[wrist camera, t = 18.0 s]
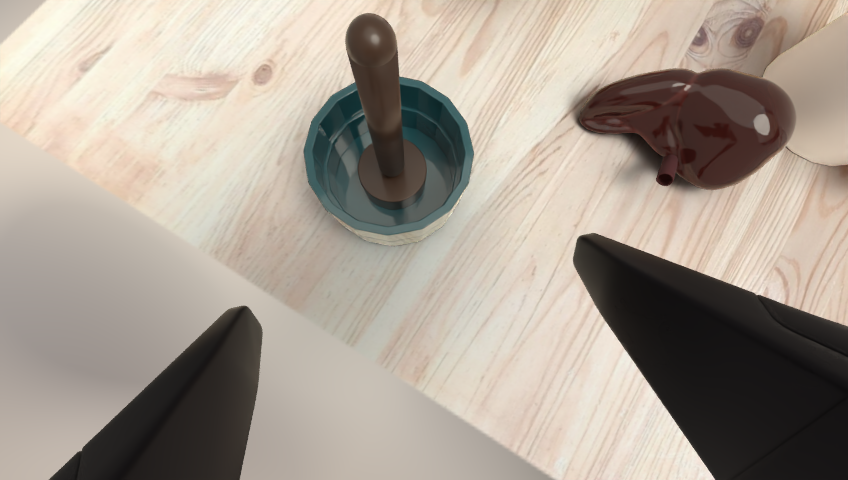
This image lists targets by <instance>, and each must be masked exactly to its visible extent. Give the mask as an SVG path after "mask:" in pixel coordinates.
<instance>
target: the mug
mask: <svg viewBox="0 0 848 480" xmlns="http://www.w3.org/2000/svg"><path fill="white" fill-rule="evenodd" d="M762 78H765V79H768V80H770V81H772V82H774V83H775V84H777V85H778V86H780V87H781V88H782V89H783V90H784V91H785V92H786V93H787V94H788V95H789V97H790V98H791V100H792V102H793V104H794V107H795V111H796V125H795V129H794V132H793V135H792V137H791V139H790V141H789V142H788V143H787V145H786V147H787V148H788V149H790V150H791V151H792V152H793V153H795V154H797V155H799V156H801V157H803V158H805V159H807V160H809V161H811V162H814V163H819V164H823V165H828V166H840V165H848V12H846V13H845V14H843V15H842V16H840V17H838V18H837V19H835V20H834V21H832V22H831V23H829V24H827V25H826V26H824V27H823V28H821V29H820V30H818V31H816V32H815V33H813V34H812V35H810V36H809V37H807V38H805V39H804V40H802V41H801V42H799V43H798V44H796V45H795V46H793V47H791V48H790V49H788V50H787V51H785V52H784V53H782V54H780V55H779V56H778V57H777V58H776V59H775V60H774V61H773V62H772V63H771V64H770V65H768V66H767V68H766V70H765V72H764V75H763V77H762Z"/></svg>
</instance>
